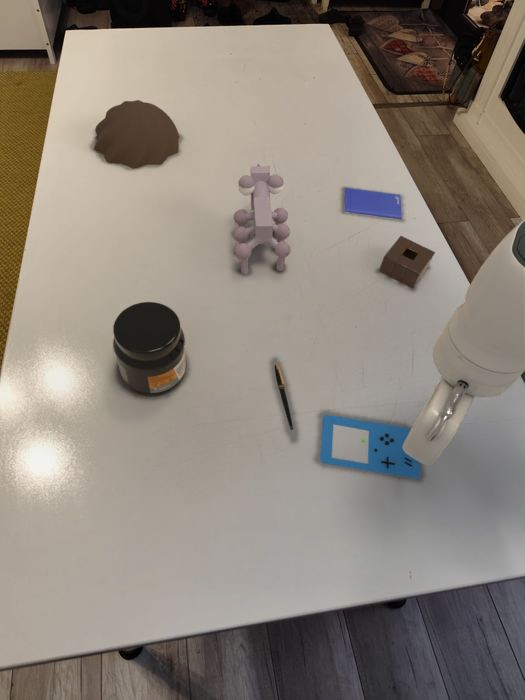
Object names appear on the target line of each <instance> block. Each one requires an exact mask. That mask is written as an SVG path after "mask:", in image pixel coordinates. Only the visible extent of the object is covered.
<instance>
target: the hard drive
mask: <svg viewBox="0 0 525 700" xmlns="http://www.w3.org/2000/svg"><path fill="white" fill-rule="evenodd" d="M343 203H344V205H343V206H344V207H343V213H345V214H354V215H360V216H368V217H376V218H384V219H391V220H397V221H403V209H402V196H401V194H396V193H390V192H381V191H373V190H366V189H359V188H350V187H344V202H343Z"/></svg>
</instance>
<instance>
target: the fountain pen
mask: <svg viewBox="0 0 525 700" xmlns="http://www.w3.org/2000/svg"><path fill="white" fill-rule="evenodd" d="M274 373H275V379H276V383H277V388H278V390H279V394H280V398H281V401H282V405H283V408H284V413H285V415H286V420H287V422H288V425H289V430H291V431H292V430H294V426H293V421H292V420H293V419H292V416H291V410H290V407H289V402H288V398H287V394H286V390H285V389H286V387H285V381H284V377H283V374H282V371H281V368H280V366H279V364H275V365H274Z"/></svg>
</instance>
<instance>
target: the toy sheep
mask: <svg viewBox="0 0 525 700" xmlns="http://www.w3.org/2000/svg"><path fill="white" fill-rule="evenodd" d="M270 169H271V168H270V165H263V166H262V165H260V164H259V163H257V165H256V166H253V165H252V166H251V165H250V175H247V174H246V175H242V176H241V177H240V178H239V180H238V186H237V187H238V191H239V193H240V194H241V195H243V196H246V197H247V196H250V206H251V207H250V208H251V209H250V210H251V211H253V212H248V211H247V210H245V209H238V210H236V211H235V212H234V214H233V221H234V223H235V224H236V225H238V226H237V227H236V228H235V229H234V231H233V239H234V240H235V241H236V242H237V243H238V244H237V245H236V247H235V248H234V254H235V256H236V258H238V259H239V260H240V272H241V274H243V275H247V274H249V261H248V259H249V258H250V257H251V256H252V250H253V249H254V248H256V247H257V246H258V245H260V244H261V245H262V244H263V245H264V244H267V245H269V246H270V247H271V248H273V250H274V254H275V255H276V256H277V259H276V260H277V261H276V268H275V269H276V270H277V272H282V271H283V270H284V269H285V268H284V267H285V262H286V258H287V257H288V256H289V255H290V254H291V251H292V248H291V245H290V244H289V242H288V241H285V240H287V239H288V238H289V237H290V235H291V229H290V227H289V225H287V224H286V222H287V220H288V217H289V213H288V211H287V209H286V208H283V207H277V208H275V209H274V211H272V203H271V197H270V196H271V194H272V195H279V194H281V192H283V190H284V183H285V182H284V179H283V177H282V176H281V175H280V174H276V173H274V174H271V171H270ZM249 221H253V225H252V226H250V227H246V225H247V224H248V223H249ZM273 221H274V222H273ZM252 235H254V237H253V238H252V239H251V240H249V239H250V236H252ZM273 236H275V237H276V239H274V237H273ZM248 240H249V242H247V241H248Z"/></svg>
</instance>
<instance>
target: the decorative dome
mask: <svg viewBox="0 0 525 700" xmlns="http://www.w3.org/2000/svg"><path fill="white" fill-rule="evenodd" d="M94 132H95V134H96V136H97V140H96V142H95V144H94V146H93V150H95V151H96V152H97V153H100V154H102V155H103V157H104V159H105V162H106V163H108V164H117V165H118V164H119V165H123V166H125V167H127V168H130V169H131V170H132V169H133V170H135V169H139V168H141V167H145V166H161V165H163V164H164V162H165V161H166V160H167V159H168V157H172V156H174V155H176V154H178V153H179V148H180V147H179V145H180V144H179V139H180V133H179V130H178V128H177V126H176V125H175V123H174V120H172V118H171V117H170V115H168V114H167V113H166V112H165V111H164V110H163V109H162V108H160V107H159V106H158V105H155V104H153V103H151V102H144V101H142V100H139V99H136V100H132V101H131V100H124V101H122V103H120V104H117V105H114V106H112V107H110V108H109V109H108V110H107V111H106V113H105V117H104V118H103V119H102V120H101V121H100V122H98V124H97V125H96V126H95V129H94Z"/></svg>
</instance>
